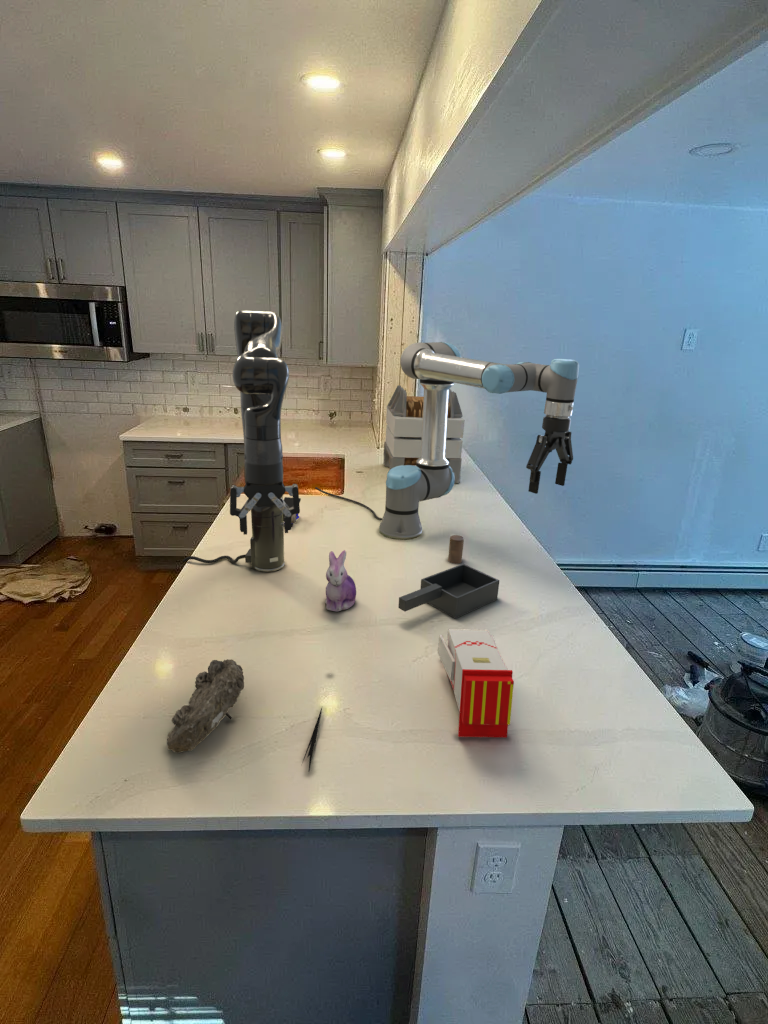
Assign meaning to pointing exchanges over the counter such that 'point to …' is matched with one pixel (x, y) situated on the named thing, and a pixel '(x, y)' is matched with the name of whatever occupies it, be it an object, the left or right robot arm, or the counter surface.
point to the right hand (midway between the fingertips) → (546, 488)
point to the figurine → (339, 584)
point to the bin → (454, 591)
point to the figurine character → (290, 504)
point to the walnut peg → (455, 549)
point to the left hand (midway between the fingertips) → (265, 532)
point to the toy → (478, 682)
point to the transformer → (419, 431)
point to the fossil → (206, 705)
